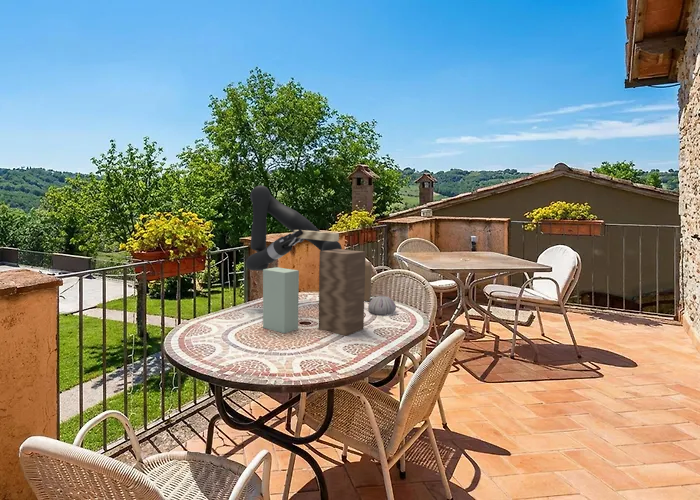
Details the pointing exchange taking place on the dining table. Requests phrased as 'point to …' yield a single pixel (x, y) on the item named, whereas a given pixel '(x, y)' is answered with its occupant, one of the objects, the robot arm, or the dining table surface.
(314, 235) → the oak rod
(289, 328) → the sage pedestal
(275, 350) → the dining table surface
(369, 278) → the wooden block
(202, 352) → the dining table surface
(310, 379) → the dining table surface
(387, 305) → the sea urchin shell
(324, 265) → the walnut pillar
